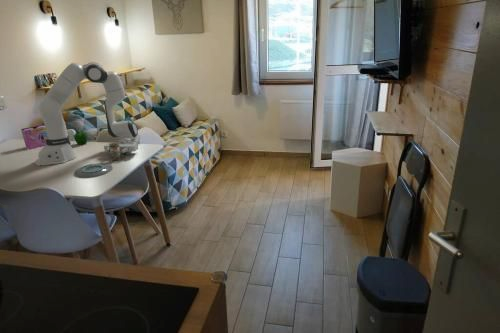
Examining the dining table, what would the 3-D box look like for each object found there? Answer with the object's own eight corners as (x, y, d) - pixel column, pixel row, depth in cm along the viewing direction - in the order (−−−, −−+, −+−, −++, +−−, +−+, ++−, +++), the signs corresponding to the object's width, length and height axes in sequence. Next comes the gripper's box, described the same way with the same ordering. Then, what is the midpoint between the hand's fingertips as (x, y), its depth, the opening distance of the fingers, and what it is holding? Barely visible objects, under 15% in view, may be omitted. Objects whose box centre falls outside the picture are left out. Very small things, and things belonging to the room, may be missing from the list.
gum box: (61, 139, 262) (57, 121, 257) (65, 141, 257) (61, 123, 252) (25, 147, 247) (20, 128, 242) (29, 149, 241) (23, 130, 236)
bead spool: (112, 161, 213) (109, 146, 209) (111, 159, 218) (108, 143, 214) (122, 160, 215) (119, 144, 212) (121, 157, 220) (118, 142, 216)
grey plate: (75, 180, 188) (74, 177, 187) (74, 168, 204) (73, 165, 204) (114, 173, 196) (113, 170, 195) (110, 162, 212) (110, 159, 212)
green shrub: (86, 145, 246) (83, 131, 242) (74, 146, 245) (71, 132, 242) (90, 141, 254) (87, 128, 250) (78, 142, 253) (75, 129, 250)
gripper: (109, 139, 227) (98, 146, 214) (139, 139, 224) (129, 146, 211) (111, 148, 229) (100, 155, 217) (140, 149, 227) (131, 156, 214)
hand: (114, 151), depth 214 cm, fingers open, 8 cm apart
